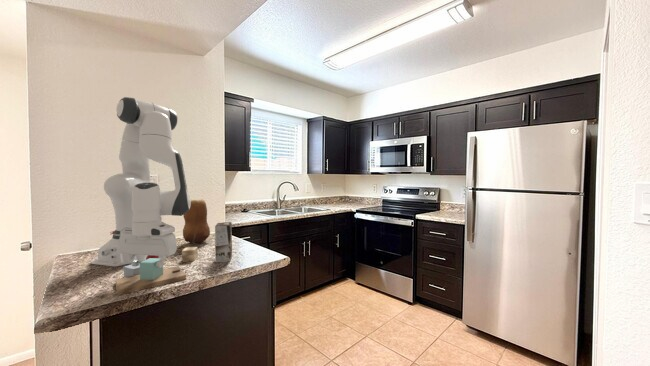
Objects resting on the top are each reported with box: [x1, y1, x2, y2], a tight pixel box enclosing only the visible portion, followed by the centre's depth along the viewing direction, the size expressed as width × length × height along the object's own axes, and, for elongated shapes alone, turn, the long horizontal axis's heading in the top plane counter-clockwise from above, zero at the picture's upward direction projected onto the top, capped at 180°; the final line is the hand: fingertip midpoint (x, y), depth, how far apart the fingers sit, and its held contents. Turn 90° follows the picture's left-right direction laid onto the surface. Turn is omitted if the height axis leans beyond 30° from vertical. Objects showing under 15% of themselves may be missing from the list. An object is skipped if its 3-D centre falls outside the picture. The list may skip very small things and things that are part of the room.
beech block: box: [181, 246, 199, 263], centre depth 120 cm, size 5×5×5 cm
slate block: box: [123, 263, 140, 278], centre depth 101 cm, size 6×4×4 cm, turn 66°
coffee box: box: [214, 221, 233, 263], centre depth 121 cm, size 9×6×16 cm
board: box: [115, 266, 187, 296], centre depth 96 cm, size 20×12×2 cm, turn 131°
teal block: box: [139, 258, 164, 280], centre depth 96 cm, size 5×5×6 cm
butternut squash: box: [182, 198, 211, 245], centre depth 146 cm, size 14×13×25 cm
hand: (147, 266), depth 95 cm, fingers open, 8 cm apart
